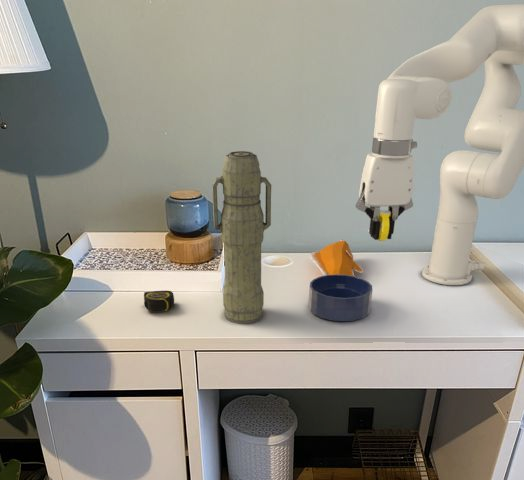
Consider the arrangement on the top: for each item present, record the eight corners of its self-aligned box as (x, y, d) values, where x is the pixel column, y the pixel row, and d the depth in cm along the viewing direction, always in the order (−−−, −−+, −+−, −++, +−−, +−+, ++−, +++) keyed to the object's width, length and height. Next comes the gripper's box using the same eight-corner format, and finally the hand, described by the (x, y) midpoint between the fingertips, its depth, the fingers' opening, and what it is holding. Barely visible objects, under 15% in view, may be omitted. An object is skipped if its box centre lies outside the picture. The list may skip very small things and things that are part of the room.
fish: (366, 240, 153) (314, 224, 152) (372, 292, 132) (312, 274, 130) (357, 261, 157) (306, 245, 156) (361, 314, 136) (303, 297, 134)
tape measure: (174, 302, 132) (173, 287, 130) (175, 314, 126) (174, 299, 124) (144, 304, 131) (143, 289, 129) (144, 316, 125) (143, 301, 123)
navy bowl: (358, 295, 135) (360, 272, 132) (378, 321, 123) (381, 296, 120) (302, 299, 133) (303, 276, 130) (317, 325, 121) (319, 300, 118)
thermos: (274, 321, 123) (276, 156, 106) (221, 326, 121) (215, 158, 104) (265, 304, 131) (266, 148, 113) (215, 309, 128) (208, 150, 111)
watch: (370, 234, 122) (374, 207, 120) (383, 234, 123) (386, 207, 120) (377, 243, 117) (381, 215, 114) (390, 243, 117) (394, 215, 114)
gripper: (420, 144, 116) (407, 231, 124) (347, 145, 113) (339, 234, 122) (437, 150, 109) (422, 241, 118) (359, 151, 106) (351, 244, 115)
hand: (380, 237), depth 120 cm, fingers closed on watch, 2 cm apart
